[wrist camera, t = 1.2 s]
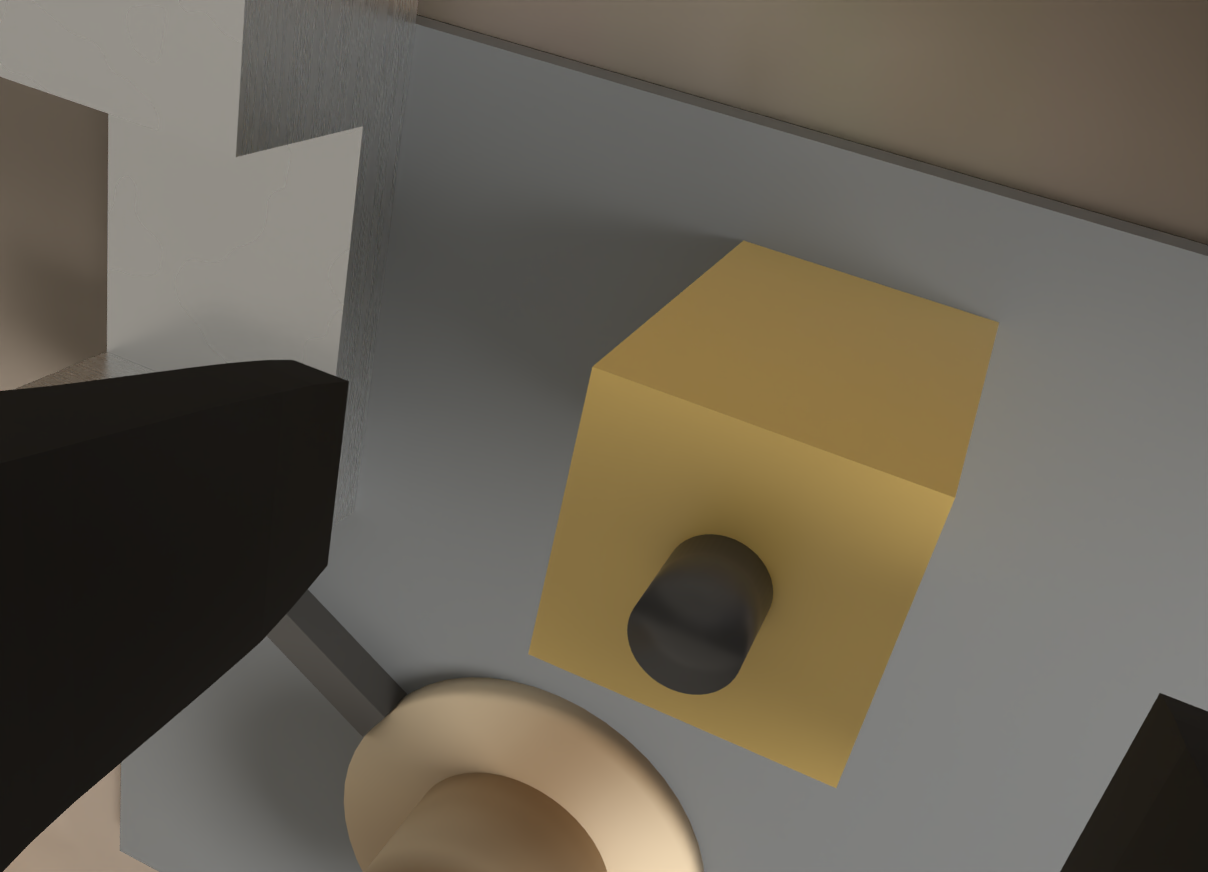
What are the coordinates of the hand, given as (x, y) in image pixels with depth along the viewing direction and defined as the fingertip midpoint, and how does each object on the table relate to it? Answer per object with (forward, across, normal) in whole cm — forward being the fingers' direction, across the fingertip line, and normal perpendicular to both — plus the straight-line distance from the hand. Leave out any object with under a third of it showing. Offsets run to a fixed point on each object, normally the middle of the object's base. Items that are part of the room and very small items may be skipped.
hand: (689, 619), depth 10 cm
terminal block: (+6, +8, 0) cm, 10 cm away
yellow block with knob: (+6, 0, 0) cm, 6 cm away
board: (+6, +2, +6) cm, 9 cm away
